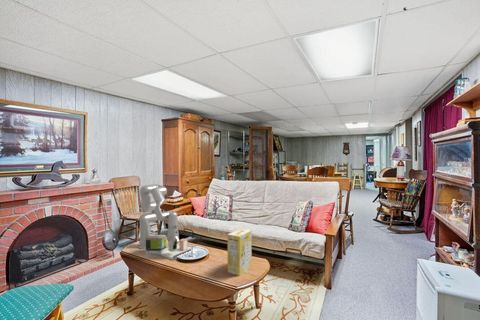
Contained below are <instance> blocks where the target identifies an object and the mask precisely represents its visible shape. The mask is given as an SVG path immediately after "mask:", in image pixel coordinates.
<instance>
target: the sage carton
mask: <svg viewBox="0 0 480 320" xmlns="http://www.w3.org/2000/svg"><path fill="white" fill-rule="evenodd" d="M167 241H168V242H167V244H168V246H167V248H168V251H171V252H173V251H176V250H177V249H173V245H174V243H173V241H171V240H167ZM175 242H176V241H175Z"/></svg>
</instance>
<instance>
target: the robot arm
mask: <svg viewBox="0 0 480 320" xmlns="http://www.w3.org/2000/svg"><path fill="white" fill-rule="evenodd" d="M167 193H168V190H167V187H165V186H163V185H160V184H146V185H142V186H141V187H140V189H139V195H140V210H141V212H142V214H141V215H139V217H138V218H139V219H138V221H139V230H140V231H139V232H140V234H139V235H140V237H139V240H140V241H138V243H139V245H138V249H140V250H141V249H142V250H146V238H147V237H148V236H150V235H152V227H151V225H150V224H151V223H155V222H157V221H159V222H164V221H167V226H168V227H167V235H166V241H168V240H171V241H173V243H174V245H173V249H177V244H179V240H180V236H179V235H180V234H179V228H178V213H177V212H176V211H173V210H167V211H161V208H160V207H161V206H162V205H164V204H165V203H166V198H165V196H166V195H167ZM150 195H152V198H153V199H154V201H153V200H151V196H150ZM175 241H176V242H175Z"/></svg>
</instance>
